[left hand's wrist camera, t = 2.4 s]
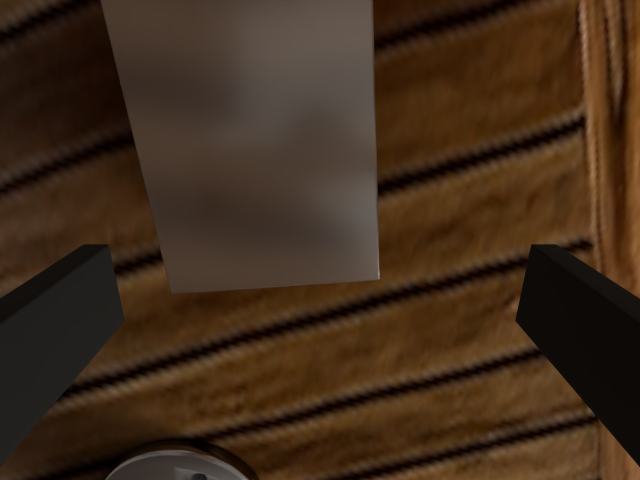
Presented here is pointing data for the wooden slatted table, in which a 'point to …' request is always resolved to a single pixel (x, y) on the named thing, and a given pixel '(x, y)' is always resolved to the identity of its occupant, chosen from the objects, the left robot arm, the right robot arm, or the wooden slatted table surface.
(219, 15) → the cabinet
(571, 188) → the wooden slatted table surface
